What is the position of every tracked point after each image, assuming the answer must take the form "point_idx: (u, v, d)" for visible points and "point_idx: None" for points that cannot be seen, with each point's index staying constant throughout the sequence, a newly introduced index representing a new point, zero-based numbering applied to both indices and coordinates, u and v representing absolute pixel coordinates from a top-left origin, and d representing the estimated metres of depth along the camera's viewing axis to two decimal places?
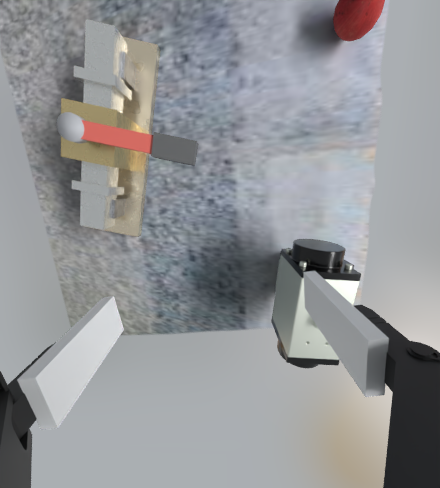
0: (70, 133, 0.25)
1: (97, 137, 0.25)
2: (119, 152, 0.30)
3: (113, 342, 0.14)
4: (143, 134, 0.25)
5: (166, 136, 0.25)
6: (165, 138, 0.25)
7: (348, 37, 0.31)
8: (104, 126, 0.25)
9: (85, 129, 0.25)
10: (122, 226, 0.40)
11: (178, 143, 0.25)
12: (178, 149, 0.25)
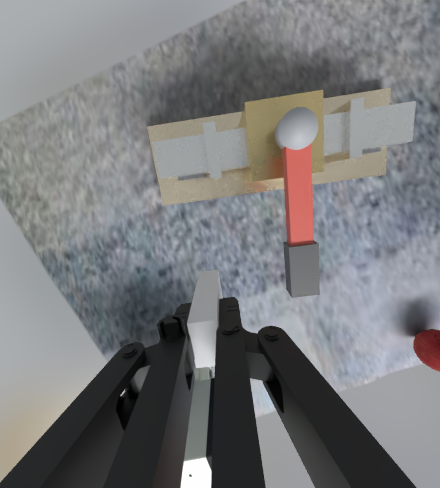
0: (289, 130, 0.17)
1: (293, 170, 0.18)
2: None
3: None
4: (311, 230, 0.19)
5: (316, 259, 0.20)
6: (314, 259, 0.20)
7: (418, 350, 0.33)
8: (309, 177, 0.18)
9: (300, 151, 0.17)
10: (168, 182, 0.29)
11: (312, 275, 0.20)
12: (305, 277, 0.20)
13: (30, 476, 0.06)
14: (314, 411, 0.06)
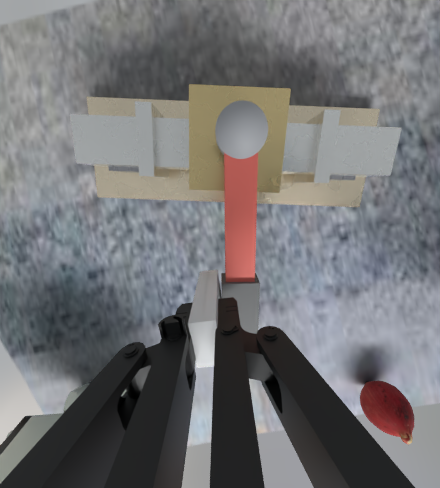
0: (229, 131, 0.12)
1: (232, 185, 0.13)
2: None
3: None
4: (253, 265, 0.15)
5: (256, 302, 0.15)
6: (253, 302, 0.15)
7: (363, 403, 0.30)
8: (254, 197, 0.14)
9: (242, 161, 0.13)
10: (107, 170, 0.24)
11: (249, 321, 0.16)
12: (240, 322, 0.16)
13: (31, 476, 0.06)
14: (313, 411, 0.06)
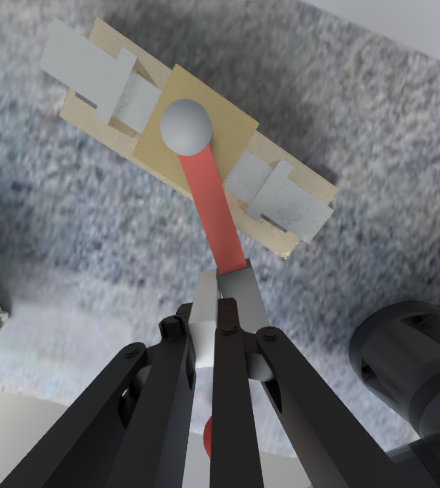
0: (174, 132, 0.13)
1: (195, 182, 0.14)
2: None
3: None
4: (240, 251, 0.15)
5: (255, 286, 0.15)
6: (251, 286, 0.15)
7: (207, 425, 0.32)
8: (219, 186, 0.14)
9: (197, 156, 0.13)
10: None
11: (254, 305, 0.16)
12: (246, 309, 0.16)
13: (31, 476, 0.06)
14: (312, 411, 0.06)
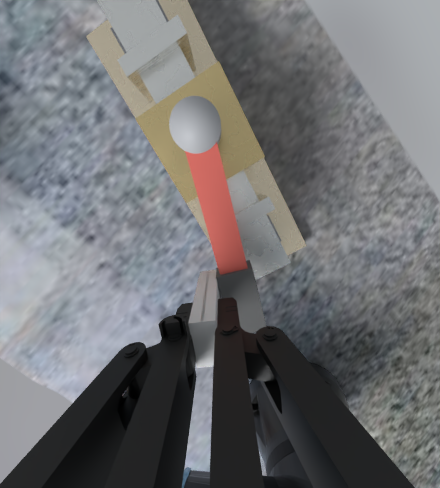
0: (183, 129, 0.13)
1: (201, 180, 0.14)
2: None
3: None
4: (241, 252, 0.15)
5: (254, 288, 0.15)
6: (251, 288, 0.15)
7: None
8: (225, 186, 0.14)
9: (204, 155, 0.13)
10: None
11: (252, 308, 0.16)
12: (244, 311, 0.16)
13: (31, 476, 0.06)
14: (312, 411, 0.06)
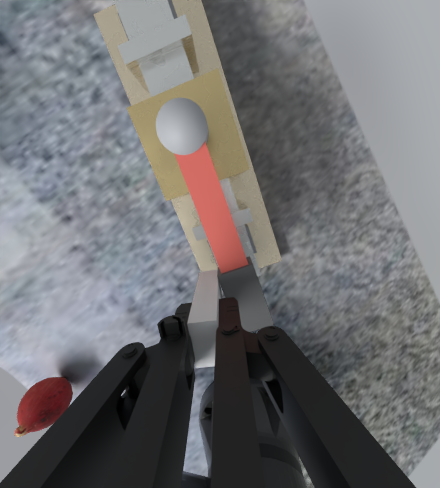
0: (170, 132, 0.13)
1: (193, 181, 0.14)
2: None
3: None
4: (240, 249, 0.15)
5: (257, 284, 0.15)
6: (253, 284, 0.15)
7: (37, 384, 0.30)
8: (217, 185, 0.14)
9: (193, 155, 0.13)
10: None
11: (257, 304, 0.16)
12: (249, 307, 0.16)
13: (30, 476, 0.06)
14: (314, 411, 0.06)
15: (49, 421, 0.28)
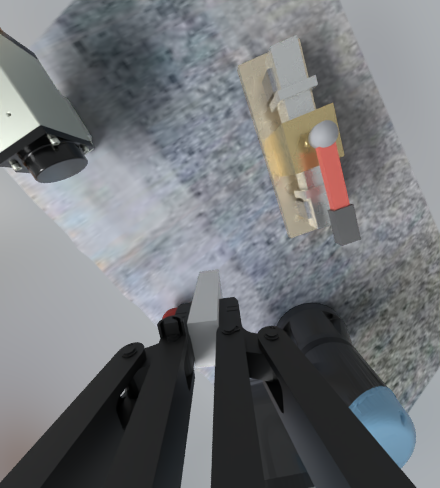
0: (320, 136, 0.26)
1: (327, 160, 0.27)
2: (283, 141, 0.31)
3: None
4: (346, 196, 0.28)
5: (354, 215, 0.29)
6: (352, 215, 0.29)
7: (171, 310, 0.44)
8: (338, 162, 0.27)
9: (329, 147, 0.27)
10: (258, 67, 0.34)
11: (353, 227, 0.29)
12: (348, 229, 0.29)
13: (30, 476, 0.06)
14: (314, 411, 0.06)
15: None
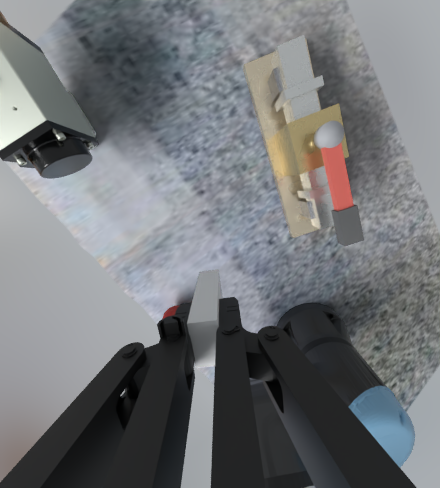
0: (326, 137, 0.26)
1: (332, 161, 0.27)
2: (288, 141, 0.31)
3: None
4: (350, 197, 0.29)
5: (358, 216, 0.29)
6: (356, 216, 0.29)
7: (172, 307, 0.44)
8: (343, 163, 0.27)
9: (334, 148, 0.27)
10: (264, 66, 0.34)
11: (356, 227, 0.29)
12: (352, 230, 0.29)
13: (30, 476, 0.06)
14: (314, 411, 0.06)
15: None
